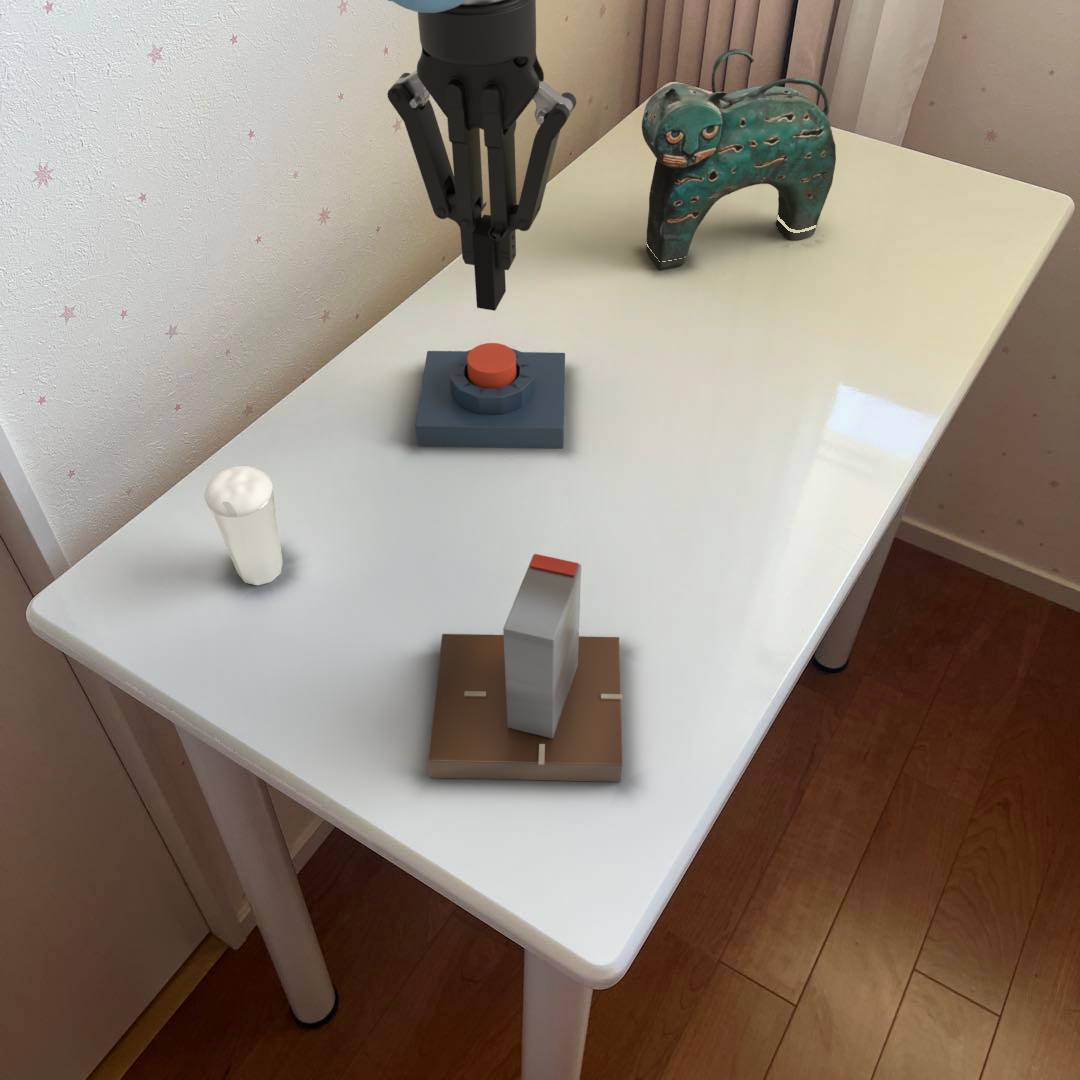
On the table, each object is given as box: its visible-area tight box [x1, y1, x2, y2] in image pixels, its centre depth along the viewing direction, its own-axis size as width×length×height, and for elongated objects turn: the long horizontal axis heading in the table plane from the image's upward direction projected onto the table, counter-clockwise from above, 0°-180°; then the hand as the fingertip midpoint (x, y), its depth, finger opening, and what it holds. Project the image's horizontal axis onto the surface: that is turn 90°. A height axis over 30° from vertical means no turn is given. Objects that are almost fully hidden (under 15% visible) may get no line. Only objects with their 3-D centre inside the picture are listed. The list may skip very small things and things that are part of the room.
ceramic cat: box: [641, 48, 837, 271], centre depth 104 cm, size 20×6×20 cm, turn 109°
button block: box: [415, 347, 566, 449], centre depth 92 cm, size 12×10×4 cm
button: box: [467, 342, 516, 389], centre depth 91 cm, size 4×4×2 cm
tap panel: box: [427, 633, 624, 783], centre depth 72 cm, size 12×10×2 cm
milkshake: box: [203, 465, 284, 586], centre depth 78 cm, size 5×5×10 cm
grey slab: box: [502, 553, 582, 738], centre depth 67 cm, size 6×3×10 cm, turn 163°
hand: (491, 299), depth 86 cm, fingers closed
